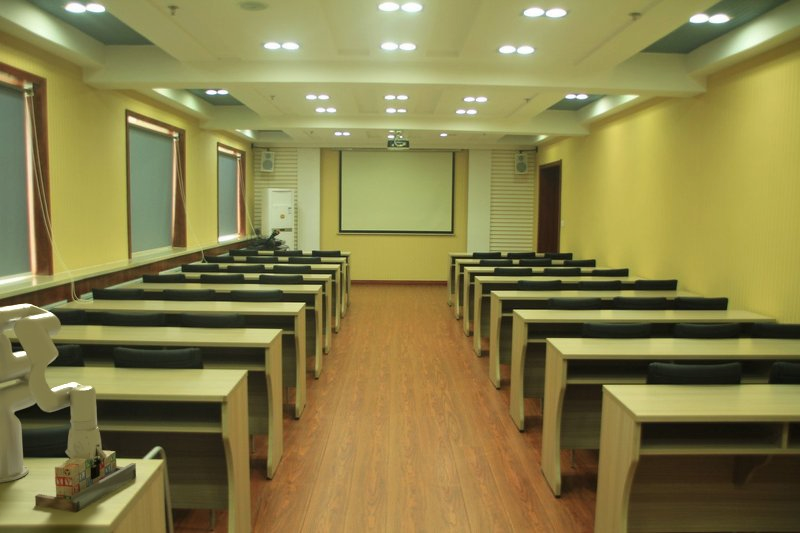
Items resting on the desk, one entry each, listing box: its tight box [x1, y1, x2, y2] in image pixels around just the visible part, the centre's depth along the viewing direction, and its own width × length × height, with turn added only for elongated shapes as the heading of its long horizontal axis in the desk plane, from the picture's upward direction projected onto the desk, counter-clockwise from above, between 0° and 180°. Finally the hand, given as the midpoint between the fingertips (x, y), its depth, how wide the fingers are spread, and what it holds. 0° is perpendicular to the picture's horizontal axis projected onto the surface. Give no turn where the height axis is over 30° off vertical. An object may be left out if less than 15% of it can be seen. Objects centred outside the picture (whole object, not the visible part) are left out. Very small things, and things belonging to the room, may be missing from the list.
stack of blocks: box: [54, 449, 118, 500], centre depth 203 cm, size 21×6×12 cm, turn 169°
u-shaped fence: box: [34, 462, 137, 513], centre depth 202 cm, size 16×26×5 cm, turn 163°
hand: (86, 475), depth 202 cm, fingers closed on stack of blocks, 6 cm apart
